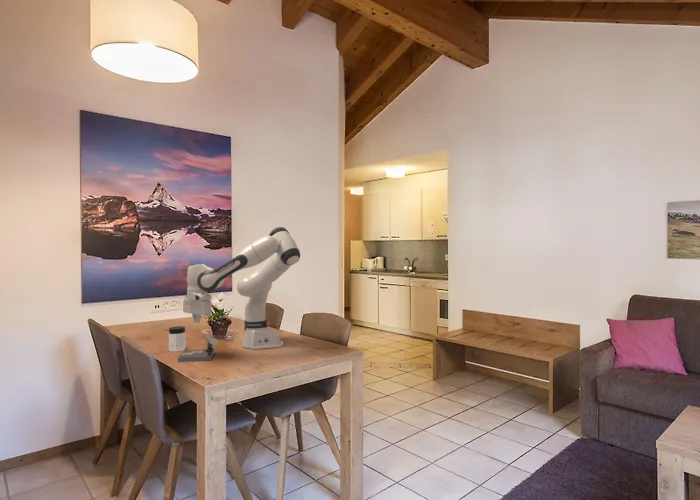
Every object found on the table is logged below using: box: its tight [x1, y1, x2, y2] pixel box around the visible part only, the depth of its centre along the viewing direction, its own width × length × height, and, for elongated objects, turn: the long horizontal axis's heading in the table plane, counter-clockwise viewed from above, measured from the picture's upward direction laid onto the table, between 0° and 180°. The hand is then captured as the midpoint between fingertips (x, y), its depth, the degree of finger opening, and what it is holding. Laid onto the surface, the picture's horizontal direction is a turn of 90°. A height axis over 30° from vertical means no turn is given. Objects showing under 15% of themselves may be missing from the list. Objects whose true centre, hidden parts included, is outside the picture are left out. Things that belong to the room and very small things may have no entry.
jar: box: [168, 325, 187, 353], centre depth 237 cm, size 9×8×12 cm
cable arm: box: [206, 334, 225, 350], centre depth 222 cm, size 17×3×4 cm, turn 37°
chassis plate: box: [177, 342, 215, 363], centre depth 221 cm, size 15×15×6 cm
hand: (196, 322), depth 222 cm, fingers closed
